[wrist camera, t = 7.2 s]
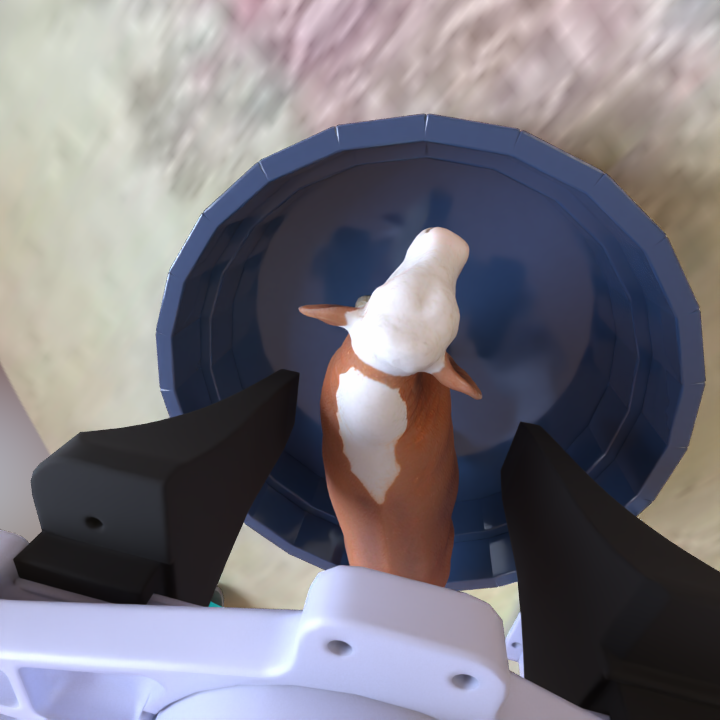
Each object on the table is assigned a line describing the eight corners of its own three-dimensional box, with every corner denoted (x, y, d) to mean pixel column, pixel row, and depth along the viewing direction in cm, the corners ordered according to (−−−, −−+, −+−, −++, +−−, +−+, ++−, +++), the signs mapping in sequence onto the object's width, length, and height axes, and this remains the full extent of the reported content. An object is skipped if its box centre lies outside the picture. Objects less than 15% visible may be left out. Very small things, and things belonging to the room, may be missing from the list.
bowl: (543, 544, 21) (567, 634, 17) (217, 465, 23) (169, 533, 19) (735, 174, 13) (860, 185, 9) (216, 86, 15) (134, 63, 11)
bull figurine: (476, 199, 14) (513, 251, 7) (445, 499, 20) (449, 692, 13) (348, 199, 15) (266, 244, 8) (354, 489, 21) (311, 667, 14)
